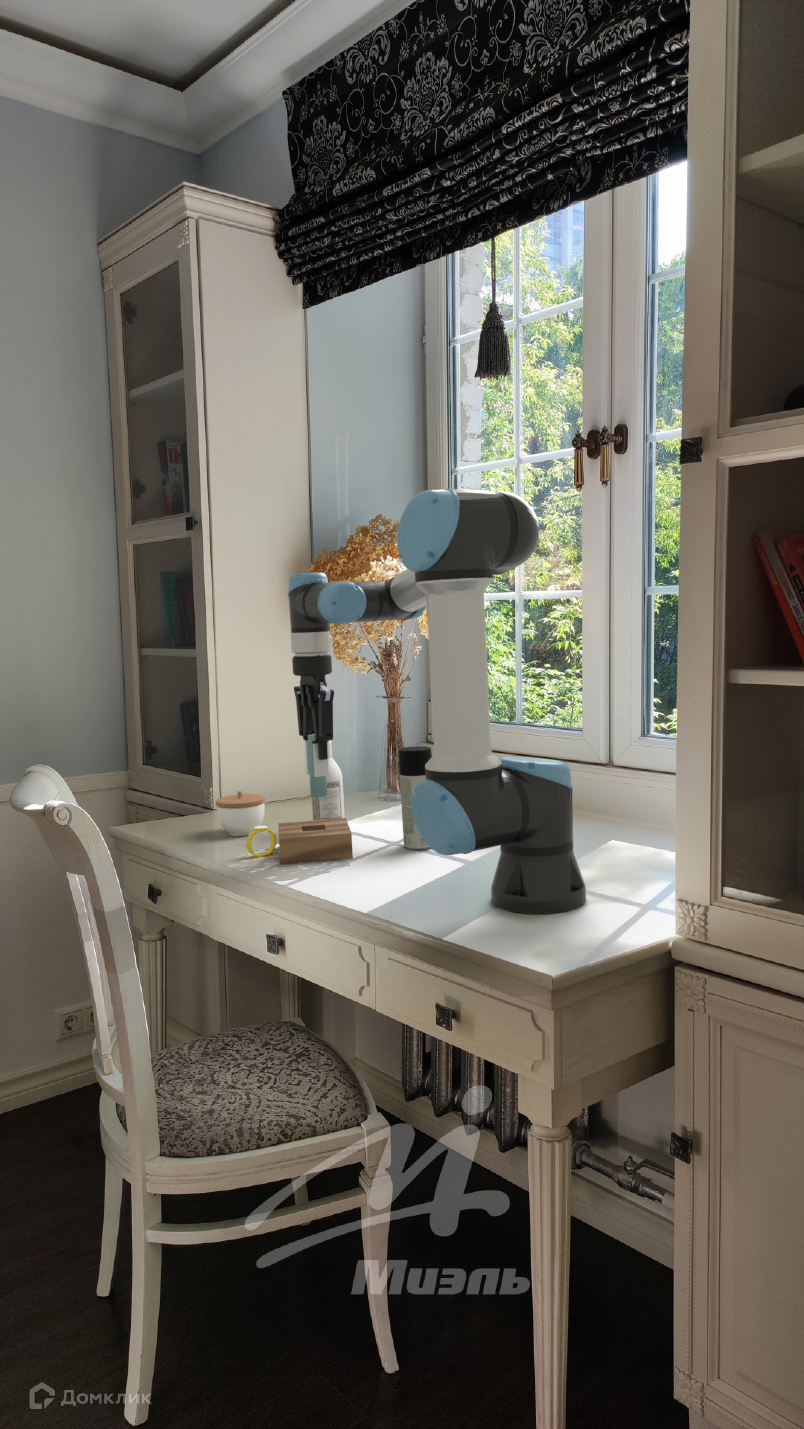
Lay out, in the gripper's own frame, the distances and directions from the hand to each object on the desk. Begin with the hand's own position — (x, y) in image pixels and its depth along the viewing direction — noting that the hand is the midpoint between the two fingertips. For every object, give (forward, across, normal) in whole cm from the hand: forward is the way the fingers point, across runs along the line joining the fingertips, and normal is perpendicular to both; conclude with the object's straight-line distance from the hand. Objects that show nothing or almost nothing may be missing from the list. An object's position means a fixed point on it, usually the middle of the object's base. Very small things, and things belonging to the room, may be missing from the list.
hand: (317, 774), depth 188 cm
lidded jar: (+17, +31, +5) cm, 36 cm away
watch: (+17, +9, +9) cm, 21 cm away
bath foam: (+17, +18, -11) cm, 27 cm away
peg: (+4, 0, 0) cm, 4 cm away
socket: (+17, +4, 0) cm, 17 cm away
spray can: (+17, -6, -19) cm, 26 cm away
